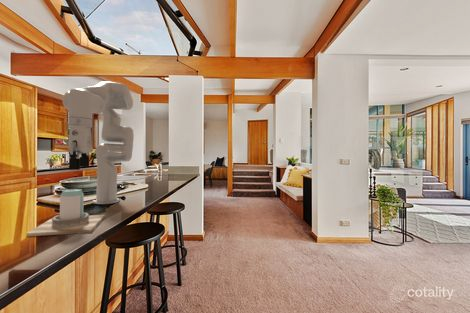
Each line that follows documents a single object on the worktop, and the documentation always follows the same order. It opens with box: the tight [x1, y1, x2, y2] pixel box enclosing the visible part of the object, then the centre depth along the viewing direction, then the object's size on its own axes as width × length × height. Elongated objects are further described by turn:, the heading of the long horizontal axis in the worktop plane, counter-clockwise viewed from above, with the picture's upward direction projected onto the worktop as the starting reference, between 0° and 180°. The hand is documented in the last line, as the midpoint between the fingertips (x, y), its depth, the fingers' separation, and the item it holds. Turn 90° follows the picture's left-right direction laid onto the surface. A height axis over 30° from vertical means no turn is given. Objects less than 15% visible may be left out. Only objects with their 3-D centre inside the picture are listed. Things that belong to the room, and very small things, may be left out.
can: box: [59, 188, 85, 220], centre depth 82 cm, size 7×7×12 cm
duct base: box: [26, 212, 106, 237], centre depth 82 cm, size 18×18×4 cm
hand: (79, 168), depth 85 cm, fingers open, 9 cm apart
